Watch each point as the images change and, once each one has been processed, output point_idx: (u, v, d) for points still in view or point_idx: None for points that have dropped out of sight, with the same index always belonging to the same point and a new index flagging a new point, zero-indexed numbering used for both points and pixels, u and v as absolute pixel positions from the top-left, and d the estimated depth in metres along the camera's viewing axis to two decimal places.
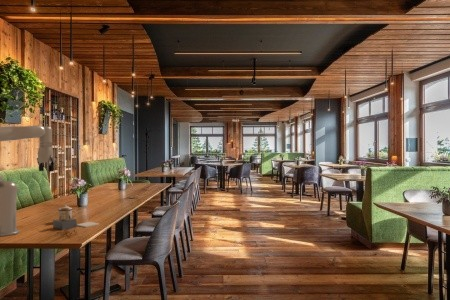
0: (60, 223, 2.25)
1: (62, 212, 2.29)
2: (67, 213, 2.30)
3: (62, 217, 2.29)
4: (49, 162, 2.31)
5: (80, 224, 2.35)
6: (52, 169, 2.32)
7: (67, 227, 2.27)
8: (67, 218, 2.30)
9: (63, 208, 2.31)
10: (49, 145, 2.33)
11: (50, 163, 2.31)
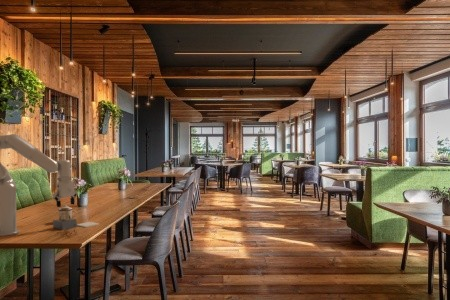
0: (60, 223, 2.25)
1: (62, 212, 2.29)
2: (67, 213, 2.30)
3: (62, 217, 2.29)
4: (73, 195, 2.34)
5: (80, 224, 2.35)
6: None
7: (67, 227, 2.27)
8: (67, 218, 2.30)
9: (63, 208, 2.31)
10: None
11: (74, 196, 2.35)
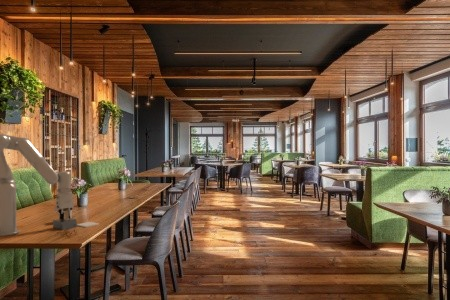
0: (60, 223, 2.25)
1: None
2: (67, 213, 2.30)
3: None
4: (70, 209, 2.32)
5: (80, 224, 2.35)
6: None
7: (67, 227, 2.27)
8: (67, 218, 2.30)
9: None
10: None
11: (70, 210, 2.33)
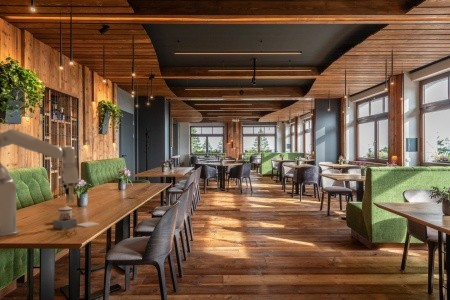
0: (60, 223, 2.25)
1: None
2: (72, 188, 2.31)
3: None
4: (75, 184, 2.33)
5: (80, 224, 2.35)
6: None
7: (67, 227, 2.27)
8: (72, 193, 2.32)
9: None
10: None
11: (75, 185, 2.34)
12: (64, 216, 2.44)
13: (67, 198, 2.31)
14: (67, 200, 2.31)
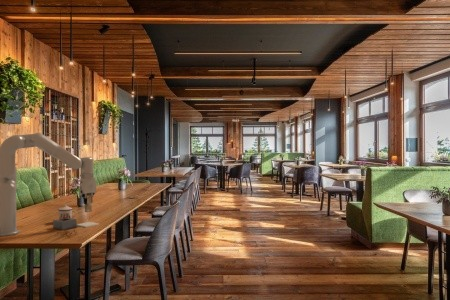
0: (60, 223, 2.25)
1: None
2: (90, 198, 2.37)
3: None
4: (92, 194, 2.39)
5: (80, 224, 2.35)
6: None
7: (67, 227, 2.27)
8: (90, 202, 2.37)
9: None
10: None
11: None
12: (64, 216, 2.44)
13: (85, 207, 2.36)
14: (85, 209, 2.36)
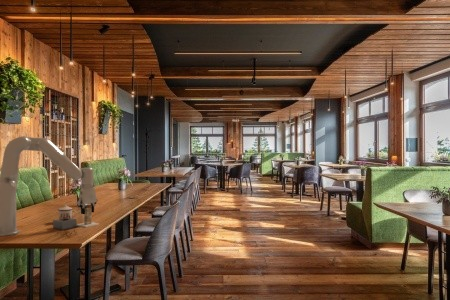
0: (60, 223, 2.25)
1: (85, 209, 2.36)
2: (90, 210, 2.37)
3: (85, 214, 2.36)
4: (94, 203, 2.40)
5: (80, 224, 2.35)
6: None
7: (67, 227, 2.27)
8: (90, 215, 2.37)
9: (86, 205, 2.38)
10: None
11: (94, 204, 2.40)
12: (64, 216, 2.44)
13: (85, 220, 2.36)
14: (85, 222, 2.36)
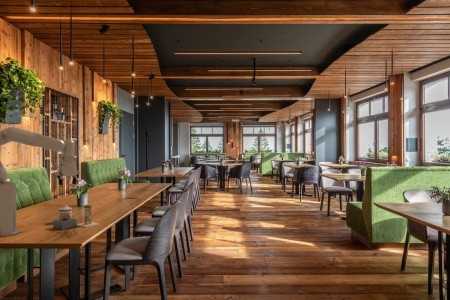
0: (60, 223, 2.25)
1: (85, 209, 2.36)
2: (90, 210, 2.37)
3: (85, 214, 2.36)
4: (75, 175, 2.40)
5: (80, 224, 2.35)
6: None
7: (67, 227, 2.27)
8: (90, 215, 2.37)
9: (86, 205, 2.38)
10: None
11: (76, 176, 2.41)
12: (64, 216, 2.44)
13: (85, 220, 2.36)
14: (85, 222, 2.36)
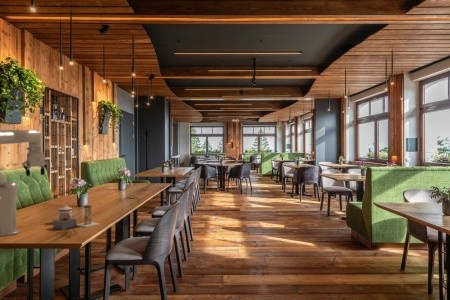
0: (60, 223, 2.25)
1: (85, 209, 2.36)
2: (90, 210, 2.37)
3: (85, 214, 2.36)
4: (43, 166, 2.41)
5: (80, 224, 2.35)
6: (43, 172, 2.42)
7: (67, 227, 2.27)
8: (90, 215, 2.37)
9: (86, 205, 2.38)
10: None
11: (44, 166, 2.42)
12: (64, 216, 2.44)
13: (85, 220, 2.36)
14: (85, 222, 2.36)
